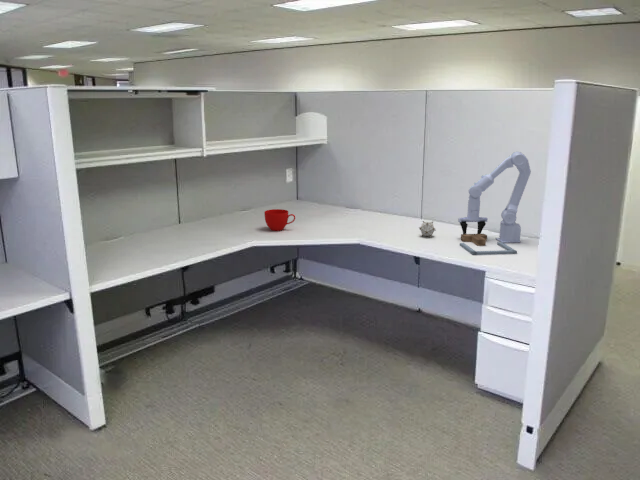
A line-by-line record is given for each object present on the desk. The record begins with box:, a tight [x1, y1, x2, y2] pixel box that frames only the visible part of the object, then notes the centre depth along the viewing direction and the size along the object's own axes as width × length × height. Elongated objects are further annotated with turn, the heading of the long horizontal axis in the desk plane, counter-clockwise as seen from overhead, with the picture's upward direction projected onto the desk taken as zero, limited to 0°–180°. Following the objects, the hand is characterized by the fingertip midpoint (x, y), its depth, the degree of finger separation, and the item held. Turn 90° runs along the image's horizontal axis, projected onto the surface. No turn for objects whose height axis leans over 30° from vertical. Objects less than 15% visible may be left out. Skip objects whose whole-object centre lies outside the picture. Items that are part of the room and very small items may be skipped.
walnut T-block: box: [460, 233, 488, 247], centre depth 269 cm, size 12×12×3 cm
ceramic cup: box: [263, 208, 296, 232], centre depth 294 cm, size 13×17×10 cm
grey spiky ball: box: [418, 220, 437, 238], centre depth 280 cm, size 9×8×10 cm
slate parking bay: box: [459, 241, 518, 256], centre depth 256 cm, size 21×17×1 cm
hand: (471, 235), depth 276 cm, fingers open, 7 cm apart
